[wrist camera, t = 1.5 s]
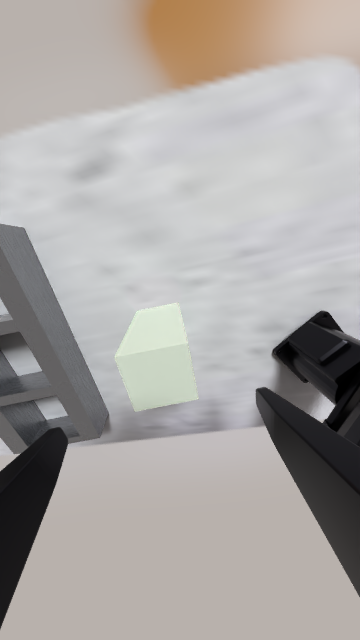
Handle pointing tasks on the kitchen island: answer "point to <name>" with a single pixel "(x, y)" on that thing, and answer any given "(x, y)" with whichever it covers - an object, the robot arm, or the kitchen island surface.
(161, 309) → the peg
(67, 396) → the slotted holder
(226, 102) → the kitchen island surface
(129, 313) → the kitchen island surface
